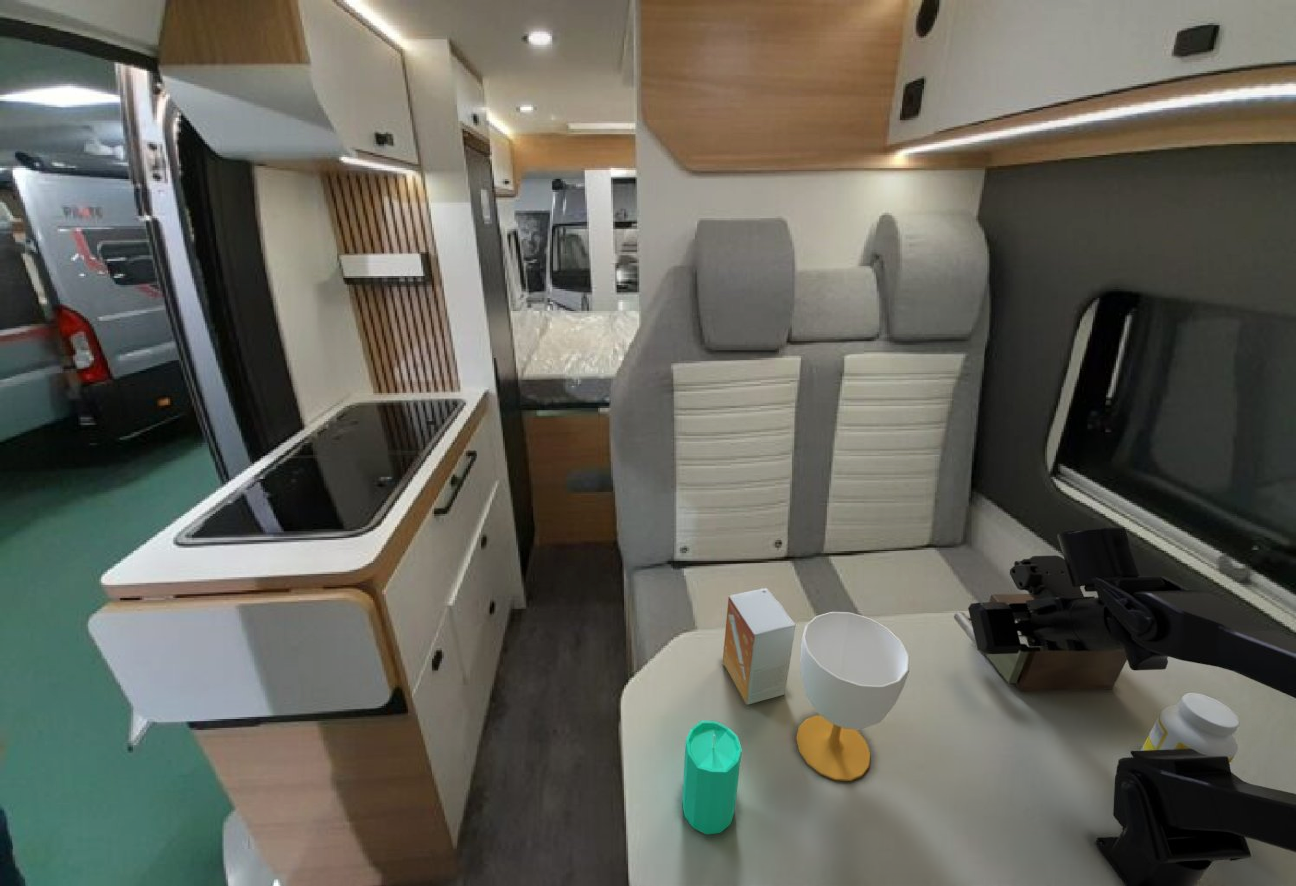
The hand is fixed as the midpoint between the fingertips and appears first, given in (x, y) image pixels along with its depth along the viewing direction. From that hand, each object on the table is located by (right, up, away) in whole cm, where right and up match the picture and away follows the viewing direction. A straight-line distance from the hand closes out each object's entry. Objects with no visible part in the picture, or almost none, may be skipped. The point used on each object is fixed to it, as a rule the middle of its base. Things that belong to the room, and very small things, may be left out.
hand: (1004, 627), depth 76 cm
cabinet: (+9, -7, +6) cm, 13 cm away
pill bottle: (+13, -15, -11) cm, 22 cm away
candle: (-44, -16, -15) cm, 49 cm away
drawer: (+5, -6, +5) cm, 9 cm away
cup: (-27, -13, -8) cm, 31 cm away
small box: (-36, -8, +2) cm, 37 cm away
